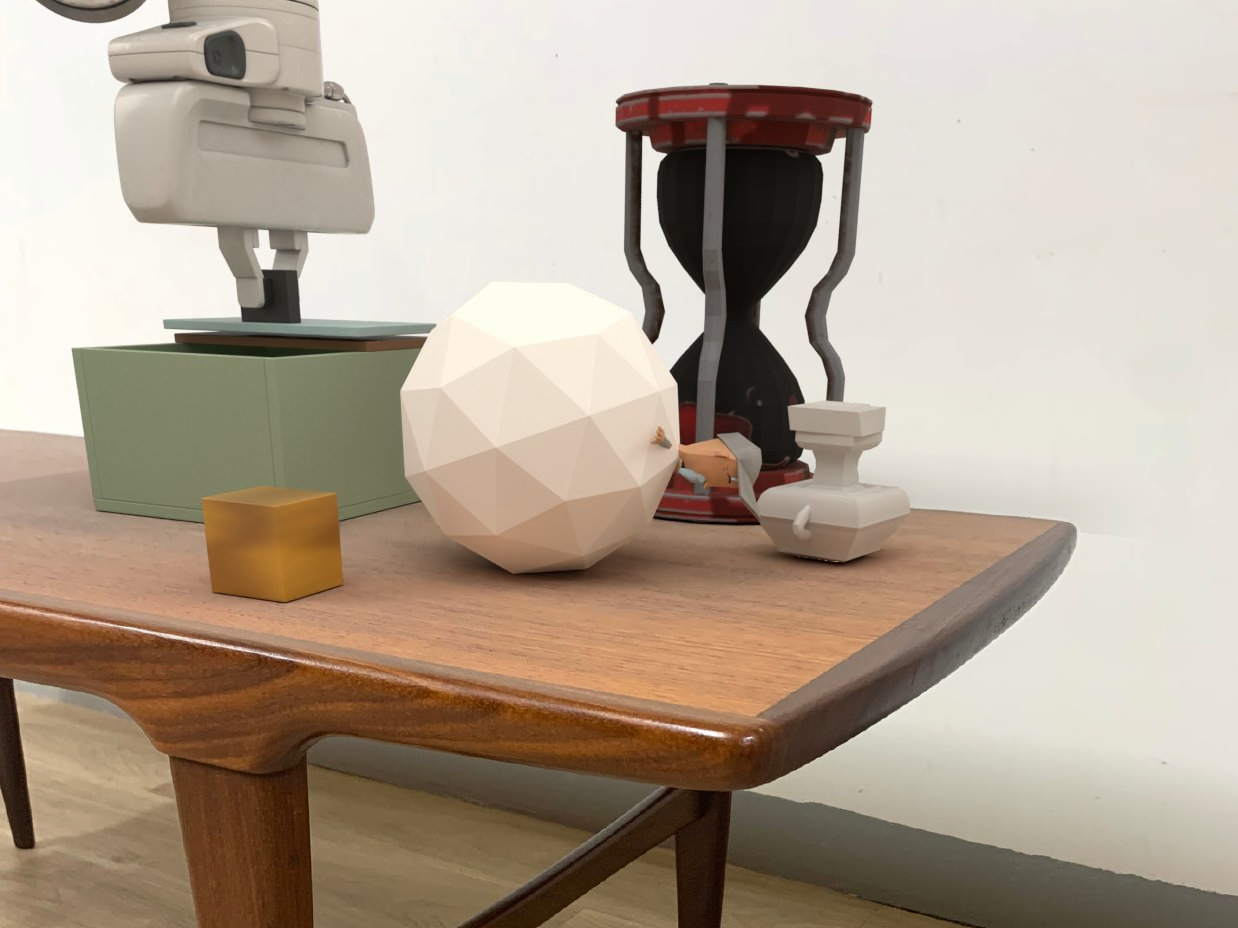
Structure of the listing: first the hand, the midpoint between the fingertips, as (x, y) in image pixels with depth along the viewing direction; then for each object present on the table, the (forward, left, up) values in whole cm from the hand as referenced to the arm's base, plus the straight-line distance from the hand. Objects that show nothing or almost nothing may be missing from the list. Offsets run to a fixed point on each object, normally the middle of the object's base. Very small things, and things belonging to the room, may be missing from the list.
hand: (269, 307), depth 84 cm
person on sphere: (+28, -11, -13) cm, 32 cm away
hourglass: (+27, +14, -13) cm, 33 cm away
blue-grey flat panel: (0, +3, -2) cm, 3 cm away
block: (+17, -22, -12) cm, 30 cm away
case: (0, -1, -12) cm, 12 cm away
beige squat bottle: (+39, 0, -13) cm, 41 cm away
